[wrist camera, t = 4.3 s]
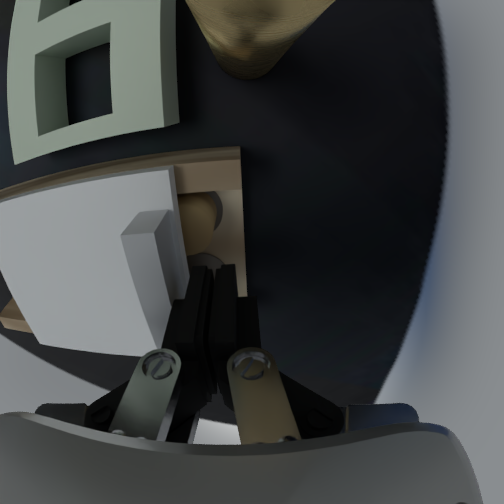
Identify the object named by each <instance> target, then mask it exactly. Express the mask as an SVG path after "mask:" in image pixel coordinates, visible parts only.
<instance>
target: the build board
mask: <svg viewBox="0 0 504 504" xmlns="http://www.w3.org/2000/svg"><path fill="white" fill-rule="evenodd" d="M69 2H70V0H16V3H15V8H14V13H13V19H12V25H11V32H10V41H9V52H8V69H7V98H8V116H9V128H10V137H11V145H12V151H13V158H14V164H15V165H16V164H18V163H21V162H24V161H27V160H29V159H32V158H35V157H38V156H41V155H44V154H47V153H50V152H53V151H57V150H60V149H63V148H67V147H70V146H74V145H78V144H81V143H85V142H89V141H93V140H98V139H102V138H106V137H111V136H115V135H120V134H125V133H131V132H136V131H142V130H148V129H154V128H160V127H166V126H169V125H173V124H177V123H180V122H179V108H178V91H177V69H176V0H82V1H80V2H77V3H75V4H73V5H71V6H69ZM108 42H110V72H111V94H112V108H113V114H109V115H105V116H101V117H97V118H93V119H90V120H86V121H83V122H79V123H76V124H73V125H70V126H69V123H68V112H67V99H66V74H65V58H68V57H70V56H72V55H75V54H77V53H80V52H82V51H85V50H88V49H90V48H93V47H96V46H99V45H102V44H105V43H108Z"/></svg>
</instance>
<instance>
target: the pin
mask: <svg viewBox="0 0 504 504" xmlns="http://www.w3.org/2000/svg"><path fill="white" fill-rule="evenodd" d="M185 1H186V2H187V4H188V6H189V8H190V10H191V12H192V14H193V15H194V17H195V19H196V21H197V23H198V25H199V27H200V29H201V31H202V32H203V34H204V36H205V38H206V40H207V42H208V44H209V46H210V48H211V50H212V52H213V54H214V56H215V58H216V60H217V62H218V64H219V66H220V67H221V69H222V70H223V71H224V72H225V73H227V74H228V75H230V76H232V77H234V78H237V79H242V80H251V79H256V78H259V77H261V76H263V75H265V74H267V73H268V72H269V71H270V70H271V69H272V68H273V67H274V65H275V64H276V63H277V62H278V61H279V59H280V58H281V57H282V56H283V55H284V54H285V52H286V51H287V50H288V49H289V48H290V47H291V46H292V45H293V43H294V42H295V41H296V40H297V39H298V38H299V37H300V36H301V35H302V33H303V32H304V31H305V30H306V29H307V28H308V27H309V26H310V25H311V24H312V23H313V22H314V21H315V20H316V19H317V18H318V17H319V16H320V15H321V14H322V13H323V12H324V11H325V10H326V9H327V8H328V7H329V6H330V5H331V4H332V3H333V2H334V1H335V0H185Z"/></svg>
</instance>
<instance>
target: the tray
mask: <svg viewBox="0 0 504 504" xmlns="http://www.w3.org/2000/svg"><path fill="white" fill-rule="evenodd" d="M170 165H173V167H174V176H175V184H176V192H177V200H178V207H179V214H180V221H181V228H182V234H183V240H184V247H185V253H186V259H187V264H188V270H189V275H190V274H191V270H192V266H204V265H206V266H207V268H208V269H212V270H213V277H214V280H215V272H216V269H217V268H221V265H223V264H235V266H236V277H237V288H238V297H244V296H247V283H246V264H245V244H244V223H243V202H242V180H241V157H240V146H234V147H217V148H204V149H193V150H183V151H174V152H166V153H158V154H150V155H143V156H137V157H131V158H125V159H119V160H113V161H108V162H103V163H98V164H93V165H88V166H83V167H79V168H75V169H70V170H66V171H62V172H58V173H54V174H50V175H47V176H43V177H40V178H36V179H33V180H29V181H26V182H23V183H19V184H16V185H13V186H10V187H7V188H4V189H1V190H0V200H1V199H4V198H8V197H11V196H14V195H18V194H22V193H25V192H29V191H33V190H36V189H40V188H44V187H48V186H53V185H57V184H61V183H66V182H70V181H75V180H80V179H85V178H90V177H95V176H101V175H107V174H113V173H119V172H125V171H132V170H138V169H146V168H153V167H162V166H170ZM0 320H1V322H2V324H3V325H4V327H5V328H9V329H14V330H19V331H24V332H30V333H33V331H32V330H31V328H30V326H29V325H28V323H27V321H26V320H25V318H24V316H23V314H22V313H21V311H20V309H19V307H18V305H17V303H16V301H15V300H14V298H12V299H11V300H10V301H9V303H8V304H7V305H6V307H5V308H4V309H3V311H2V312H1V313H0Z"/></svg>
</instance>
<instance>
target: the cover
mask: <svg viewBox="0 0 504 504" xmlns="http://www.w3.org/2000/svg"><path fill="white" fill-rule="evenodd" d="M0 270H1V272H2V275H3V277H4V279H5V281H6V283H7V285H8V288H9V290H10V292H11V294H12V296H13V298H14V300H15V301H16V303H17V305H18V307H19V309H20V311H21V313H22V314H23V316H24V318H25V320H26V321H27V323H28V325H29V326H30V328H31V330H32V331H33V333H34V335H35V336H36V338H37V339H38V341H39V343H40V344H44V345H50V346H55V347H61V348H68V349H75V350H82V351H90V352H98V353H108V354H118V355H130V356H144V355H145V354H146V353H148V352H150V351H152V350H155V349H161V346H162V342H163V338H164V334H165V330H166V326H167V322H168V319H169V315H170V311H171V308H172V304H173V301H174V300H175V299H184V298H185V294H186V290H187V286H188V282H189V277H190V275H189V270H188V264H187V259H186V253H185V247H184V240H183V234H182V228H181V221H180V214H179V207H178V200H177V192H176V184H175V176H174V167H173V165H170V166H162V167H153V168H146V169H138V170H132V171H125V172H119V173H113V174H107V175H101V176H95V177H90V178H85V179H80V180H75V181H70V182H66V183H61V184H57V185H53V186H48V187H44V188H40V189H36V190H33V191H29V192H25V193H22V194H18V195H14V196H11V197H8V198H4V199H1V200H0Z"/></svg>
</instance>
